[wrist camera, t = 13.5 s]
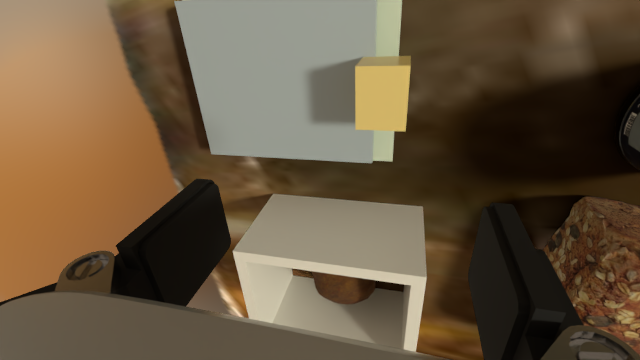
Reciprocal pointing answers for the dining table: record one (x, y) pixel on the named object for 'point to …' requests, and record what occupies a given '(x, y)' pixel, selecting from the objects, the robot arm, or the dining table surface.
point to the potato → (343, 287)
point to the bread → (601, 265)
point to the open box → (335, 266)
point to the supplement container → (629, 129)
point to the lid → (293, 77)
